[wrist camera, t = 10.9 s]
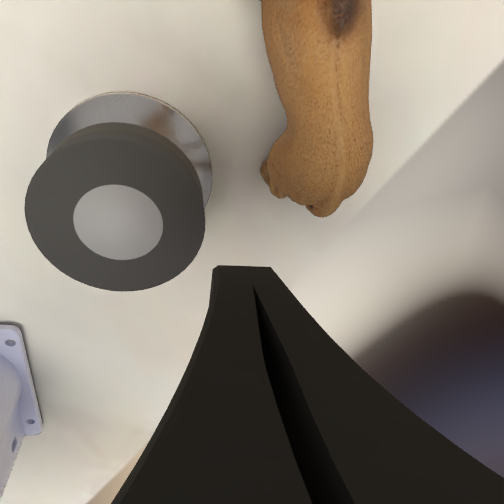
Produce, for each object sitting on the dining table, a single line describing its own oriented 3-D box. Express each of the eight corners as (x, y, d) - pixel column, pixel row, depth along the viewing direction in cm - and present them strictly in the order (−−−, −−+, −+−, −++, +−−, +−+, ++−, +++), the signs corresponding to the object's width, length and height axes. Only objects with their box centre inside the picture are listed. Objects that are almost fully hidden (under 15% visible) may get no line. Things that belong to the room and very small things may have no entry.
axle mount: (205, 243, 20) (207, 268, 18) (58, 237, 19) (45, 262, 17) (218, 103, 16) (223, 116, 14) (37, 80, 15) (17, 92, 13)
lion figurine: (121, -180, 12) (7, -500, 4) (288, -263, 11) (494, -789, 4) (274, 216, 20) (328, 348, 12) (373, 176, 19) (491, 289, 12)
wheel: (197, 264, 17) (198, 293, 16) (53, 259, 16) (38, 289, 15) (209, 131, 14) (212, 149, 13) (31, 112, 13) (9, 129, 11)
